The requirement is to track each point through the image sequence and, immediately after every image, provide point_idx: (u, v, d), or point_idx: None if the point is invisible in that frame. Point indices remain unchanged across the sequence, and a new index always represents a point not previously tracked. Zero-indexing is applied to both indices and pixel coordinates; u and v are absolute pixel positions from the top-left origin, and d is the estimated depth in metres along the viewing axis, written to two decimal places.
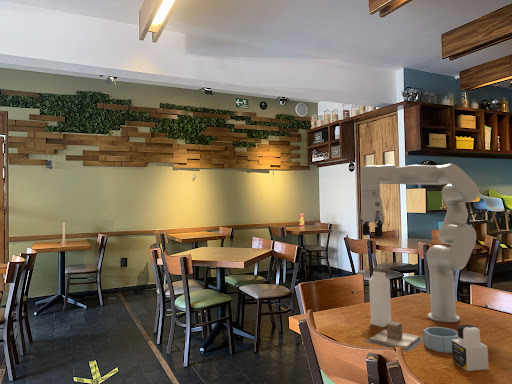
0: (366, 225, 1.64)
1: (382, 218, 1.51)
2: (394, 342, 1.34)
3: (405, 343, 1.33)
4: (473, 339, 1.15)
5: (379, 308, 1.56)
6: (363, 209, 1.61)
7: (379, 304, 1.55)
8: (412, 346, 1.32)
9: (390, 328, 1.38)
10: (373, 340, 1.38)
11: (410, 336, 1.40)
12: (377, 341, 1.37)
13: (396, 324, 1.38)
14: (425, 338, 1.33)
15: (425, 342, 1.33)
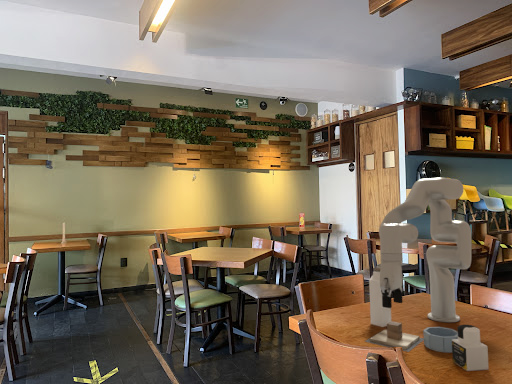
0: None
1: None
2: (394, 342, 1.34)
3: (405, 343, 1.33)
4: (473, 339, 1.15)
5: (379, 308, 1.56)
6: (395, 275, 1.37)
7: (379, 304, 1.55)
8: (412, 346, 1.32)
9: (390, 328, 1.38)
10: (373, 340, 1.38)
11: (410, 336, 1.40)
12: (377, 341, 1.37)
13: (396, 324, 1.38)
14: (425, 338, 1.33)
15: (425, 342, 1.33)
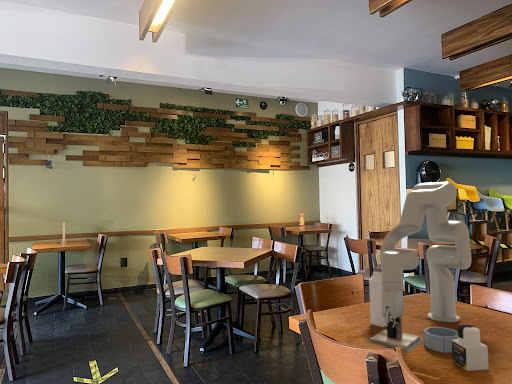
0: None
1: None
2: (394, 342, 1.34)
3: (405, 343, 1.33)
4: (473, 339, 1.15)
5: (379, 308, 1.56)
6: (397, 304, 1.36)
7: (379, 304, 1.55)
8: (412, 346, 1.32)
9: None
10: (373, 340, 1.38)
11: (410, 336, 1.40)
12: (377, 341, 1.37)
13: (396, 324, 1.38)
14: (425, 338, 1.33)
15: (425, 342, 1.33)
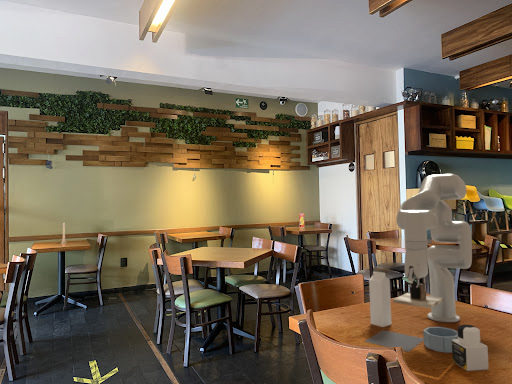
0: None
1: None
2: (418, 302, 1.31)
3: (429, 303, 1.30)
4: (473, 339, 1.15)
5: (379, 308, 1.56)
6: (421, 264, 1.33)
7: (379, 304, 1.55)
8: (412, 346, 1.32)
9: None
10: (396, 301, 1.35)
11: (434, 297, 1.36)
12: (400, 302, 1.34)
13: (420, 285, 1.35)
14: (425, 338, 1.33)
15: (425, 342, 1.33)
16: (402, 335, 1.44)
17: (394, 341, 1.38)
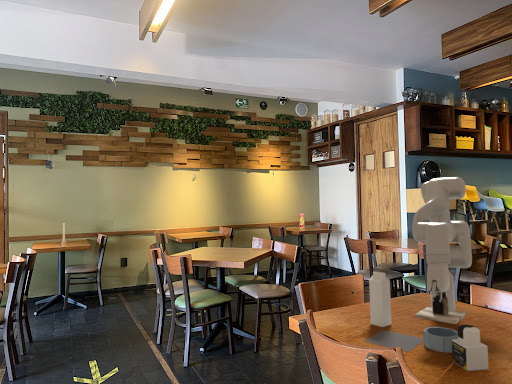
0: None
1: None
2: (442, 317, 1.27)
3: (454, 318, 1.26)
4: (473, 339, 1.15)
5: (379, 308, 1.56)
6: (444, 277, 1.30)
7: (379, 304, 1.55)
8: (412, 346, 1.32)
9: None
10: (418, 316, 1.31)
11: (457, 312, 1.33)
12: (423, 317, 1.30)
13: (442, 299, 1.31)
14: (425, 338, 1.33)
15: (425, 342, 1.33)
16: (402, 335, 1.44)
17: (394, 341, 1.38)
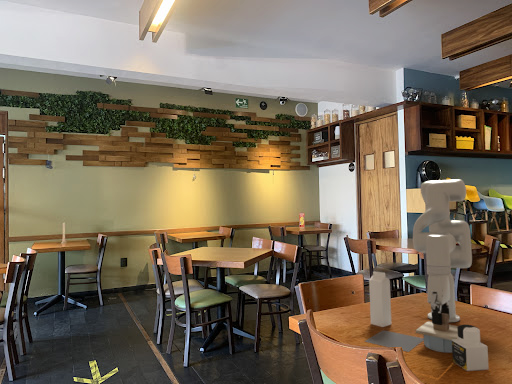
0: None
1: None
2: (442, 333, 1.27)
3: (454, 334, 1.26)
4: (473, 339, 1.15)
5: (379, 308, 1.56)
6: (444, 289, 1.30)
7: (379, 304, 1.55)
8: (412, 346, 1.32)
9: None
10: (419, 332, 1.31)
11: None
12: (424, 333, 1.30)
13: (443, 315, 1.31)
14: (425, 338, 1.33)
15: (425, 342, 1.33)
16: (402, 335, 1.44)
17: (394, 341, 1.38)
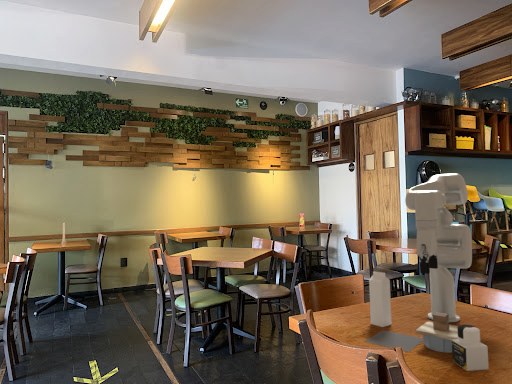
0: None
1: None
2: (442, 333, 1.27)
3: (454, 334, 1.26)
4: (473, 339, 1.15)
5: (379, 308, 1.56)
6: (432, 241, 1.38)
7: (379, 304, 1.55)
8: (412, 346, 1.32)
9: (437, 319, 1.31)
10: (419, 332, 1.31)
11: None
12: (424, 333, 1.30)
13: (443, 315, 1.31)
14: (425, 338, 1.33)
15: (425, 342, 1.33)
16: (402, 335, 1.44)
17: (394, 341, 1.38)
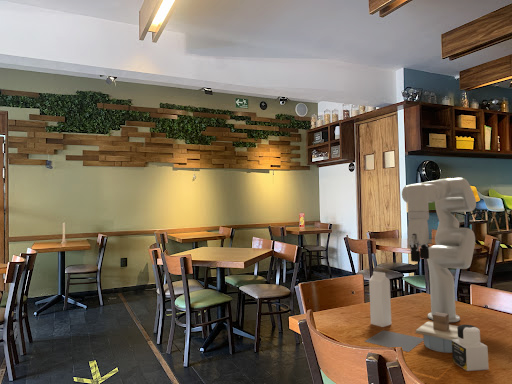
0: None
1: None
2: (442, 333, 1.27)
3: (454, 334, 1.26)
4: (473, 339, 1.15)
5: (379, 308, 1.56)
6: (423, 231, 1.45)
7: (379, 304, 1.55)
8: (412, 346, 1.32)
9: (437, 319, 1.31)
10: (419, 332, 1.31)
11: None
12: (424, 333, 1.30)
13: (443, 315, 1.31)
14: (425, 338, 1.33)
15: (425, 342, 1.33)
16: (402, 335, 1.44)
17: (394, 341, 1.38)
